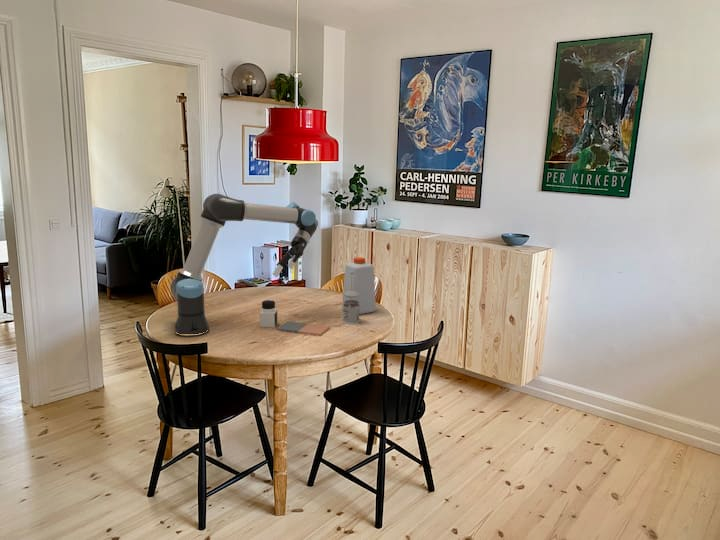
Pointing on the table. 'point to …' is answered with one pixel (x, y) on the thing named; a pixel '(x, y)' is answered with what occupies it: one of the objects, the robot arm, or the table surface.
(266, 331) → the table surface
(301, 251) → the robot arm
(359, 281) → the plastic bottle
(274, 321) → the medicine bottle
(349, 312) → the french press
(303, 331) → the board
